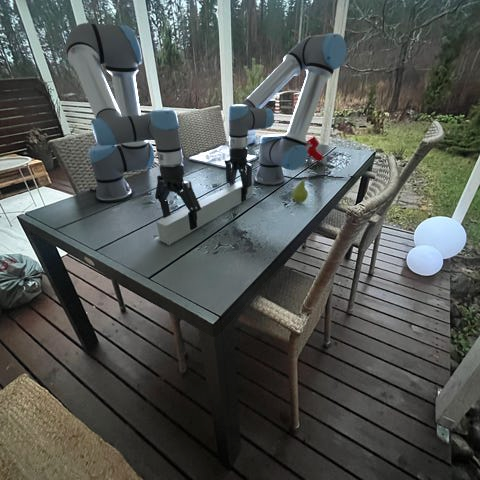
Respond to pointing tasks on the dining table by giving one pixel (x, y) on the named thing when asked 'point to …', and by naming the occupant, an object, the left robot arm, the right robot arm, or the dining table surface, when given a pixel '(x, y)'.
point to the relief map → (217, 157)
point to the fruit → (300, 192)
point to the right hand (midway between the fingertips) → (238, 199)
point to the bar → (201, 213)
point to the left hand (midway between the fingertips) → (180, 223)
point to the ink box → (251, 136)
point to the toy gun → (313, 149)
